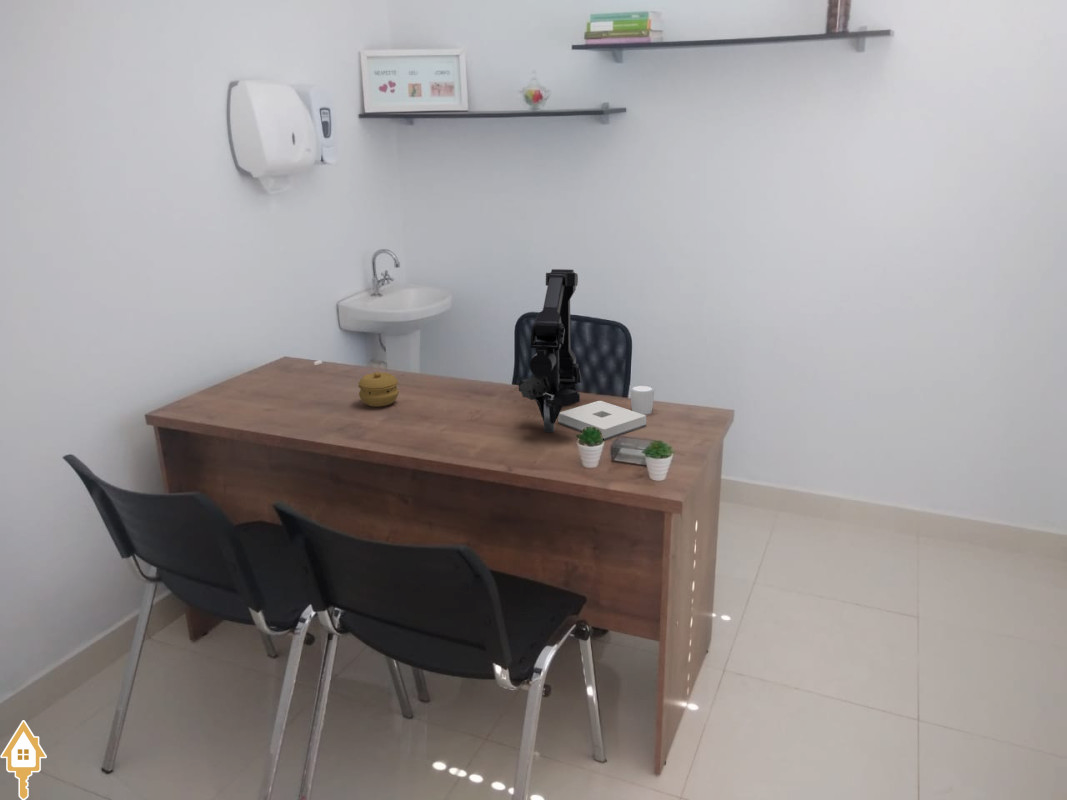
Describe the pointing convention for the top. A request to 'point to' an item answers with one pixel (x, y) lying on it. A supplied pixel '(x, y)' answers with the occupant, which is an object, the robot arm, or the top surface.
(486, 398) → the top surface
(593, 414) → the bore board
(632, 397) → the white cup
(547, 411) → the steel pin
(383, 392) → the pot
